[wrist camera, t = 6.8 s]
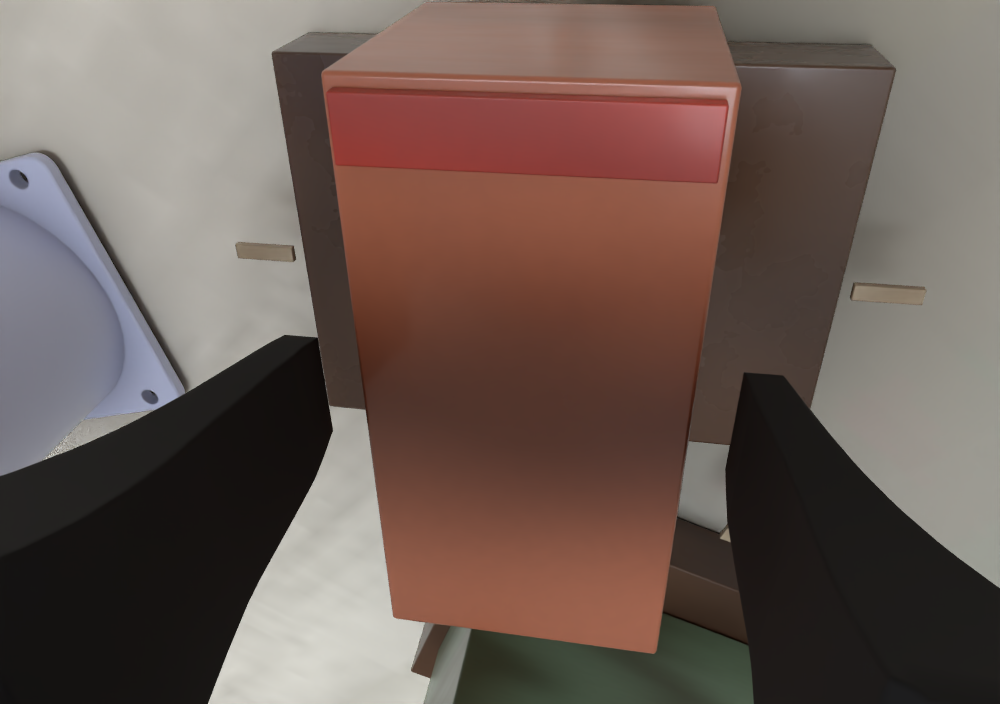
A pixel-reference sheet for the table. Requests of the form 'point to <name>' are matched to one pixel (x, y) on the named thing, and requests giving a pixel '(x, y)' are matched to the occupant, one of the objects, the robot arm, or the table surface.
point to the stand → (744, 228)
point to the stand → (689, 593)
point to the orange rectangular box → (532, 299)
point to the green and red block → (591, 670)
